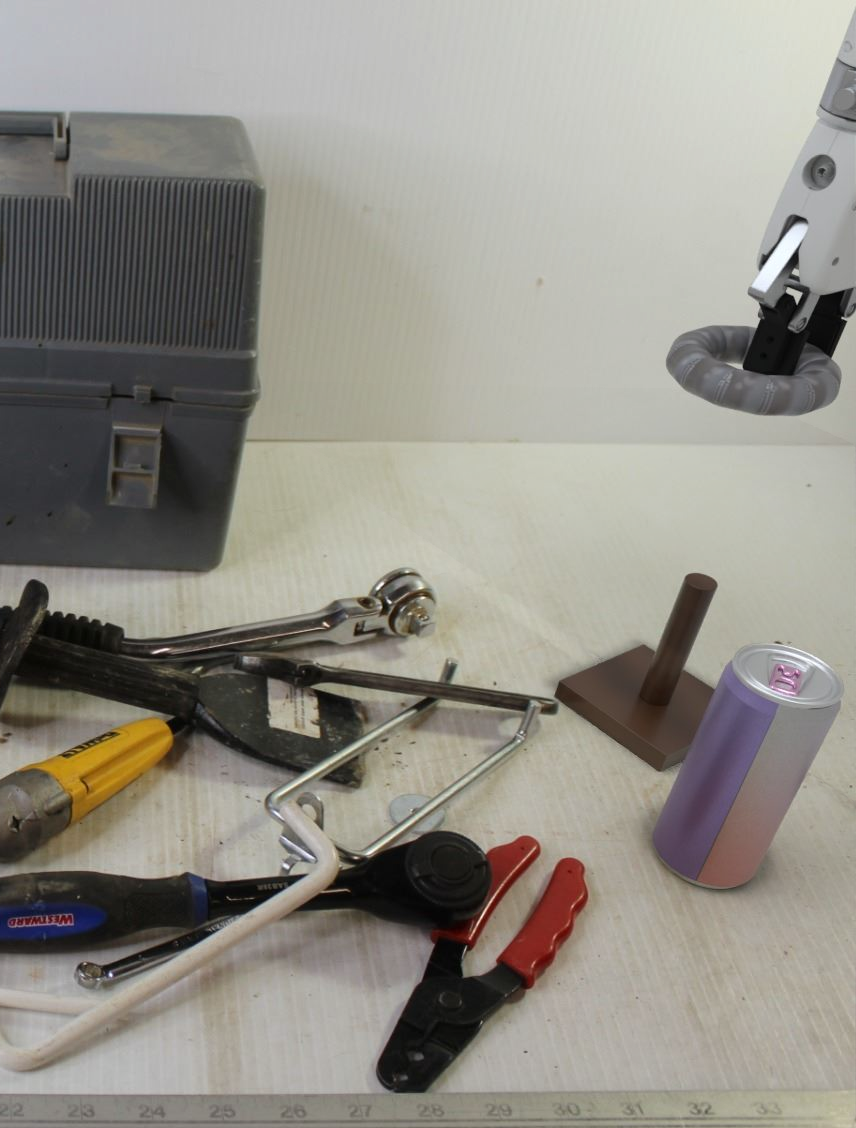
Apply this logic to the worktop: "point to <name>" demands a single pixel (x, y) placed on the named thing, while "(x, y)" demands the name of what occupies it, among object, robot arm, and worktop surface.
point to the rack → (650, 686)
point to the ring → (750, 374)
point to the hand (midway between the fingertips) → (783, 369)
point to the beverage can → (746, 763)
